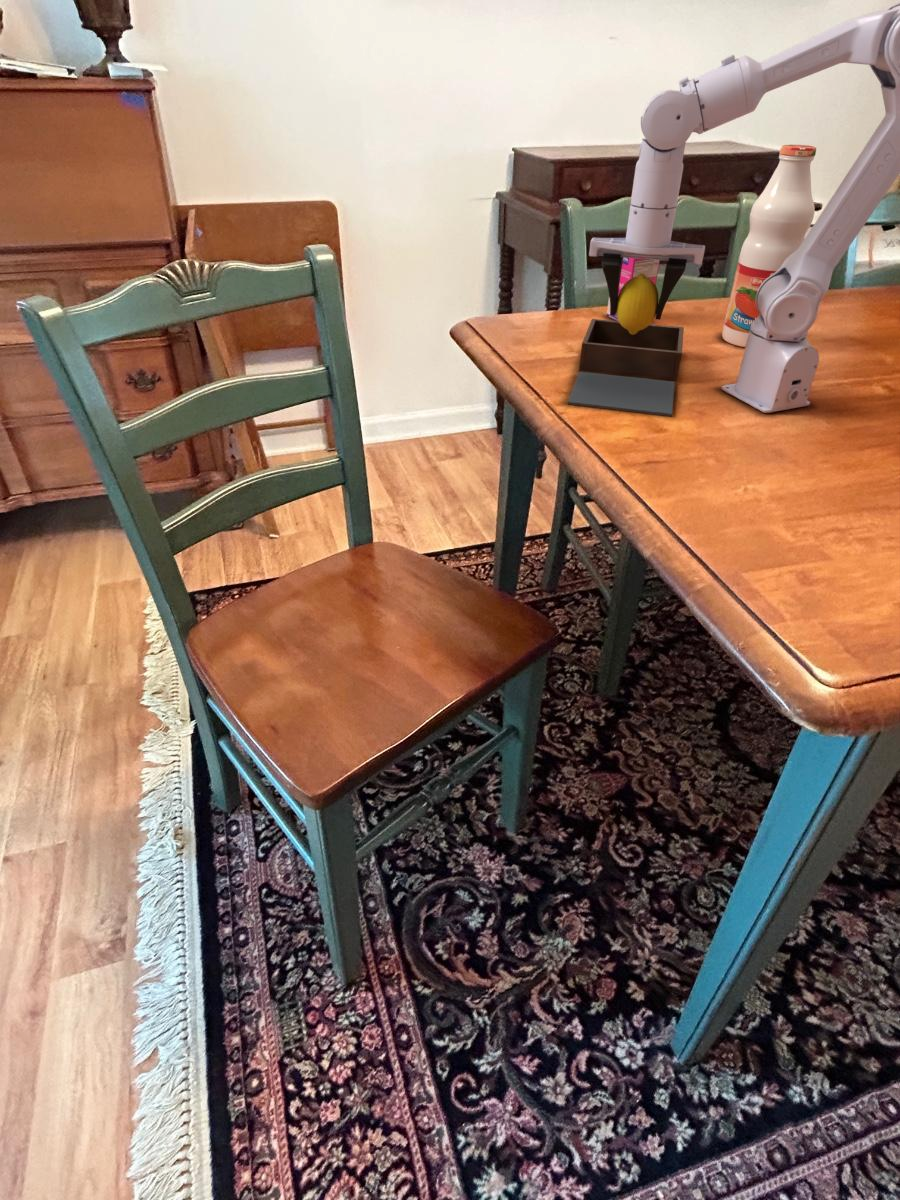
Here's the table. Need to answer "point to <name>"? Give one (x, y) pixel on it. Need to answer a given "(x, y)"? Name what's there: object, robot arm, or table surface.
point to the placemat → (623, 393)
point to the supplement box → (635, 273)
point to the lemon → (637, 303)
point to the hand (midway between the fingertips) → (635, 315)
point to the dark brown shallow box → (632, 351)
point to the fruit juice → (771, 236)
